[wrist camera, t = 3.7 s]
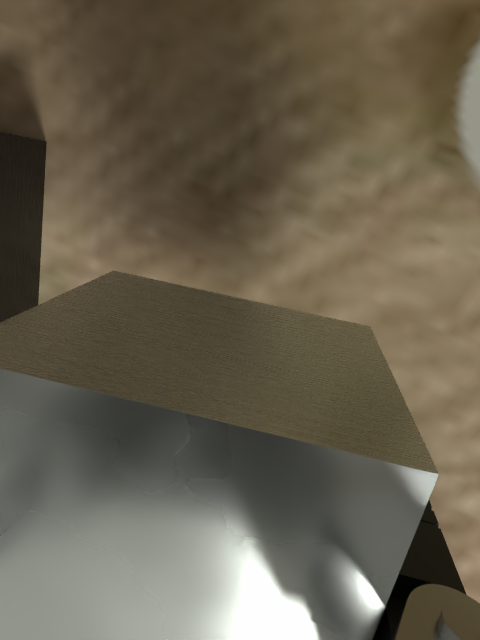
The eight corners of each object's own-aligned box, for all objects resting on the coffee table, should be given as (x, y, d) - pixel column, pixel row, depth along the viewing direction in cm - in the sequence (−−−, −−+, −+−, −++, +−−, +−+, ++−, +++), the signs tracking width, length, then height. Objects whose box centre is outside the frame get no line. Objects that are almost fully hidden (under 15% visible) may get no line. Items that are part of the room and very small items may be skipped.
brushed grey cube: (113, 270, 10) (-65, 352, 5) (370, 326, 9) (438, 473, 5) (94, 479, 12) (-50, 683, 7) (307, 535, 11) (310, 791, 6)
